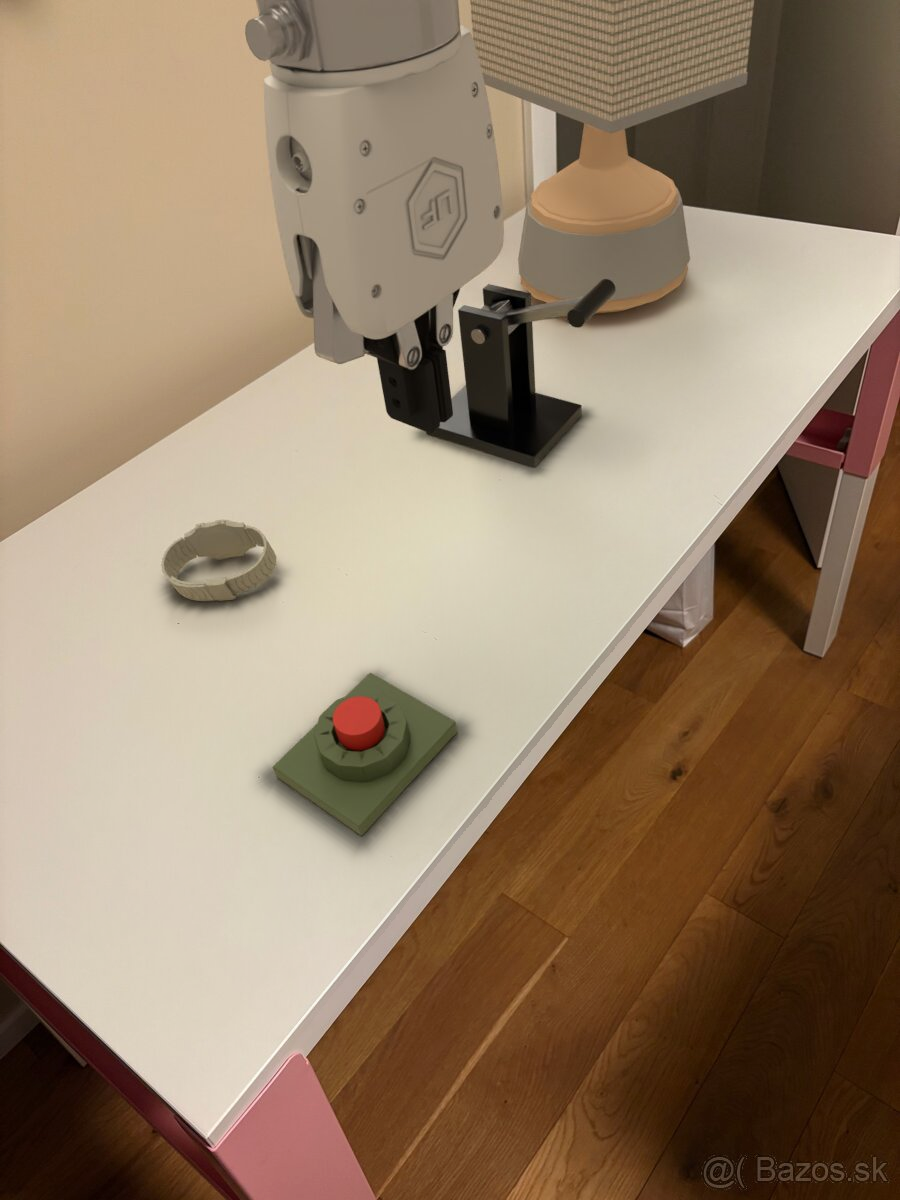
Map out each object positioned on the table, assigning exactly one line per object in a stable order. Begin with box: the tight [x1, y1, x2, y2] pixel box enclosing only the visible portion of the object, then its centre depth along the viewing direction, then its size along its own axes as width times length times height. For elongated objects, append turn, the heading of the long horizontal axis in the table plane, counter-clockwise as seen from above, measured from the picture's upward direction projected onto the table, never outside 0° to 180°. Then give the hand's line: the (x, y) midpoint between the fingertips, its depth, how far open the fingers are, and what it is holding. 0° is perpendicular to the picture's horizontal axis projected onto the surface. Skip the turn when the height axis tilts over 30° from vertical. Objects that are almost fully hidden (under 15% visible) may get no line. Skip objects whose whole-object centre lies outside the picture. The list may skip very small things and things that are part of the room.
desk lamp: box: [469, 0, 755, 315], centre depth 95 cm, size 22×19×37 cm
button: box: [333, 696, 385, 751], centre depth 63 cm, size 3×3×2 cm
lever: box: [480, 279, 616, 335], centre depth 80 cm, size 12×6×2 cm, turn 56°
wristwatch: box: [160, 519, 278, 602], centre depth 77 cm, size 9×6×5 cm
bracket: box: [425, 283, 583, 468], centre depth 86 cm, size 12×9×13 cm
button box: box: [272, 672, 458, 836], centre depth 64 cm, size 10×8×3 cm
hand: (420, 417), depth 49 cm, fingers closed
